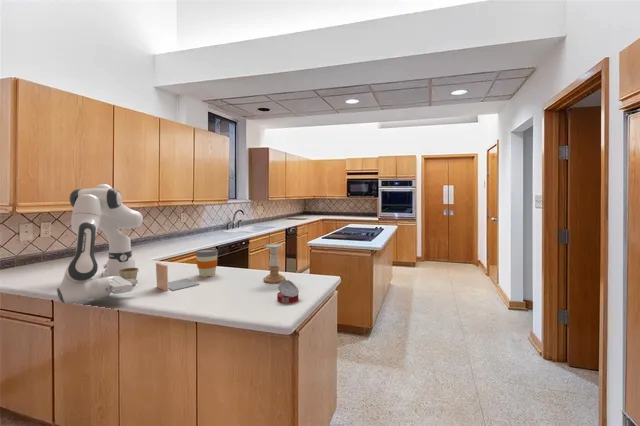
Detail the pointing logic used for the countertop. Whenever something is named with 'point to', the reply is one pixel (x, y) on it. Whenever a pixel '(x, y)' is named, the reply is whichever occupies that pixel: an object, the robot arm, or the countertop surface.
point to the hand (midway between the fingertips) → (136, 281)
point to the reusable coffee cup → (207, 261)
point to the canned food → (287, 292)
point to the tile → (162, 276)
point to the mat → (181, 284)
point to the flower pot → (129, 273)
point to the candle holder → (274, 265)
